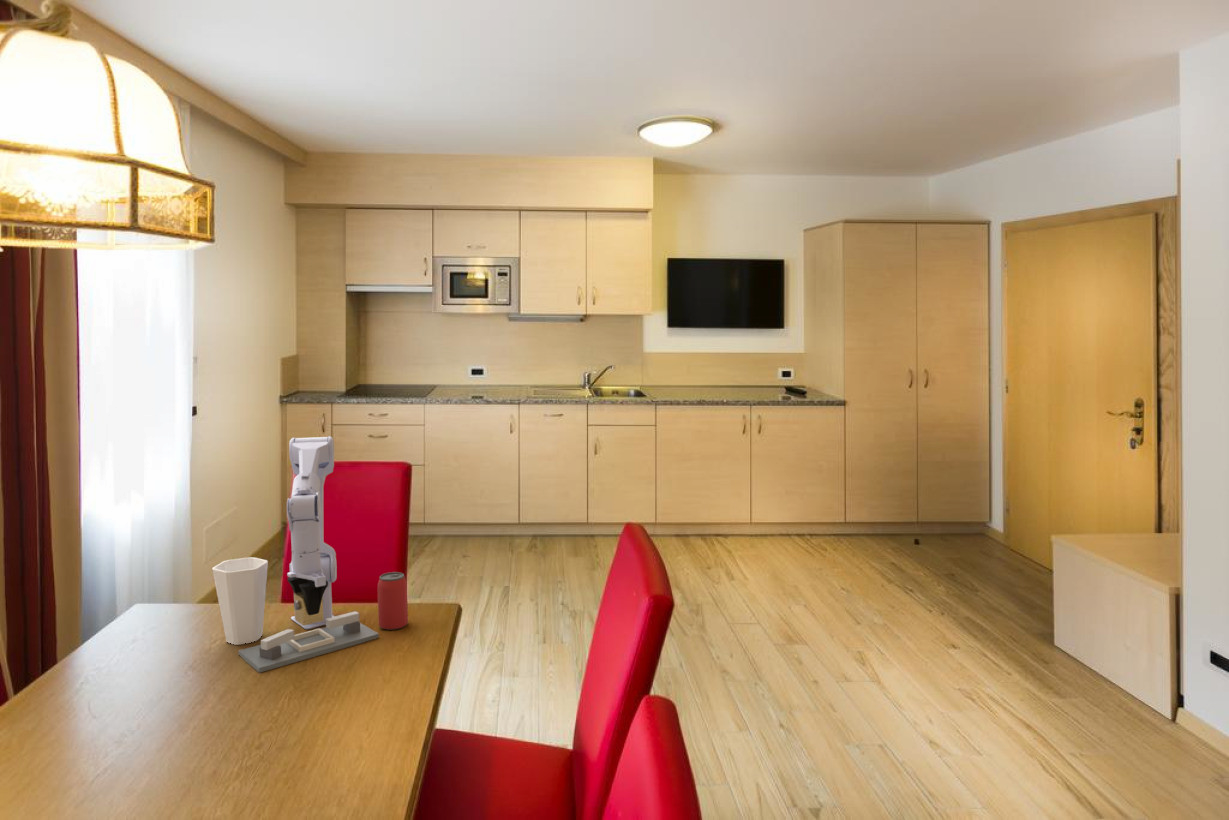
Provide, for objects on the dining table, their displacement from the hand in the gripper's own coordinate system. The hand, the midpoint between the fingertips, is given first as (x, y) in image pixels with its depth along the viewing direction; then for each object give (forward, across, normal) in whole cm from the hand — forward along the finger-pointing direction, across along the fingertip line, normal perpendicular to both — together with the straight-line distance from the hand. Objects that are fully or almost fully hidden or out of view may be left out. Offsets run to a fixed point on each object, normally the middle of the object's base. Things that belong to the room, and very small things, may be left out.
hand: (308, 610), depth 174 cm
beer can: (+8, +2, +19) cm, 21 cm away
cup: (+8, -14, -9) cm, 19 cm away
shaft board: (+8, 0, 0) cm, 8 cm away
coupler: (+2, 0, 0) cm, 2 cm away
